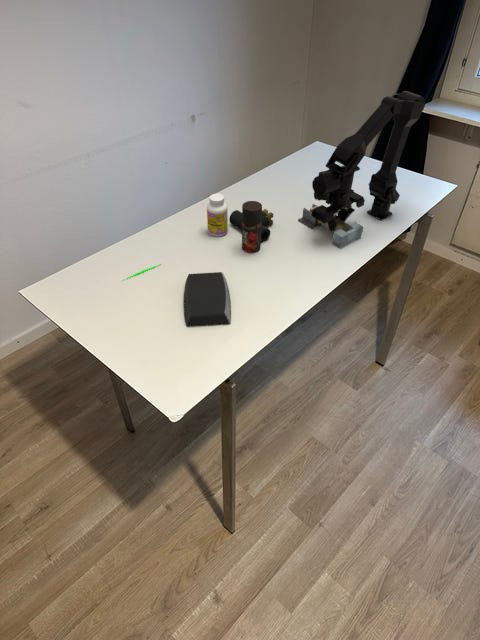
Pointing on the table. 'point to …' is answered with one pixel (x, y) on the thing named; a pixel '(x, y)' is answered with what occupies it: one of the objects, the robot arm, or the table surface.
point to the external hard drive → (207, 300)
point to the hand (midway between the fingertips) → (334, 229)
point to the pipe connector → (266, 221)
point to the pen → (143, 271)
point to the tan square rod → (338, 226)
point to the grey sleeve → (309, 219)
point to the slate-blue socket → (347, 235)
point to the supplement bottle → (217, 215)
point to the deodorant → (251, 226)
